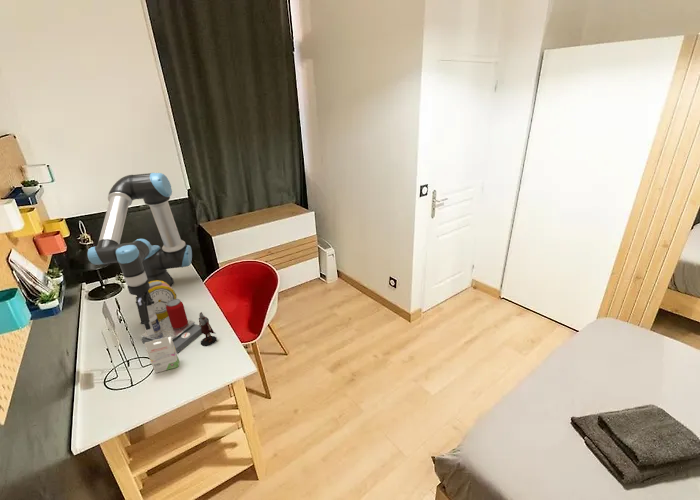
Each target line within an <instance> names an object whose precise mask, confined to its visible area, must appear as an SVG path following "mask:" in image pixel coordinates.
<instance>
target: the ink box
mask: <svg viewBox="0 0 700 500" xmlns="http://www.w3.org/2000/svg"><path fill="white" fill-rule="evenodd" d="M144 345H145V348H146V354H147V355H148V357H149V360H150V363H151V366H152V368H153V371H154V373H155V374H157V373H161V372H165V371H168V370H172V369H175V368H179V362H180V361H179V360H180V359H179V356H178V353H177V352H176V349H175V346H174V343H173V341H172V338H171V337H165V338H162V339H157V340H153V341H149V342H145V344H144Z"/></svg>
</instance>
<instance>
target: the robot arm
mask: <svg viewBox="0 0 700 500" xmlns="http://www.w3.org/2000/svg"><path fill="white" fill-rule="evenodd" d="M172 194H173V189H172V185H171V182H170V180H169V179H168V177H167V176H166V175H165V174H164V173H162V172H150V173H139V174H138V173H137V174H128V175H125V176H123V177H121V178H119V179H118V180H117V181H116V182H115V183H114V184H113V185H112V186H111V188H110V190H109V192H108V195H107V200H108V205H107V209H106V212H105V215H104V220H103V224H102V228H101V231H100V236H99V239H98V242H97V245H96V246H92V247H90V248H88V249H87V258H88V261H89V262H90V263H91V264H92V265H106V264H115V263H118V264H119V266H120V267H119V268H120V269H121V272H122V275H123V277H122V280H123V281H124V280H125V284H126V285H127V289H128V292H129V294H130V295H131V296H136V297H135V304H136V306H137V310H138V315H139V320H140V322H139V323H140V325H142V326H143V328H144V330H145V331H144V332H146V334H147V336H148V335H152V334H155V333H154V330H153V327H152V324H151V321H150V320H149V315H148V311H150V310H152V311H153V312H154V315H156V313H155V310H154V307H153V305H152V304H154V301H152V298H151V296H150V294H149V292H148V290H149V289H150V285H149V282H150V281H156V280H159V281H164V282H165V283H167V284H168V285H169V286H170V287H171V288H172V286H173V285H174V284H175V282H174V278H173V277H172V275H171V274H170V273H169V272H168V270H169V269H177V268H178V269H179V268H185V267H189V266H191V264H192V258H193V251H192V247H191V245H189V244H186V241H184V240H183V239H181V236H180V233H179V229H178V227H177V224H176V221H175V218H174V214H173V213H172V210H171V205H170V203H169V201H170V200H171V196H172ZM135 200H143V202H144V204H145V205H147V206H149V208H150V211H151V213H152V217H153V219H154V222H155V224H156V227H157V230H158V233H159V234H160V238H161V240H162V243H163V245H162V247H161V246H160V245H157V244H155V245H152V244H151V242H150V241H148V240H147V239H145V238H137V239H136V240H134V241H132V242H125V243H121V239H122V235H123V230H124V225H125V222H126V218H127V213H128V210H129V206H131V205H132V204H133V201H135Z"/></svg>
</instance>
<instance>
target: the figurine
mask: <svg viewBox="0 0 700 500" xmlns="http://www.w3.org/2000/svg"><path fill="white" fill-rule="evenodd" d="M198 315H199V318H198V323H199V324H198V325H199V327H200V328H201V332H202V334H203V335H204V336H205V337H204V338H202V339H201V340H200V345H201V346H203V347H209V346H212V345H214V344H215V343H216V342H217V337H216V336H215V335H212V334H216V332H215V331H214V330H213V328H212V326H211V324H210V322H209V318H208V317H207V316H205V315H204V313H203V312H202V311H201V312H199V314H198Z"/></svg>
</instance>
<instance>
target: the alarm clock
mask: <svg viewBox="0 0 700 500" xmlns="http://www.w3.org/2000/svg"><path fill="white" fill-rule="evenodd" d="M149 285H150V289H149V290H148V292H149V294H150V296H151V298H152V301H154V304H152V305H153V307H154V310H155V313H156V316H157V319H158V322H161V321H162V320H164V319H165V318H167V317H168V313H167V310H166V306H167V302H169V301H170V300H173V299H177V294H176V292H175V290H174V289H173V288H172V286H171V287H170V286H169V285H168V284H167V283H165V282H164V281H159V280H156V281H150V282H149Z"/></svg>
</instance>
